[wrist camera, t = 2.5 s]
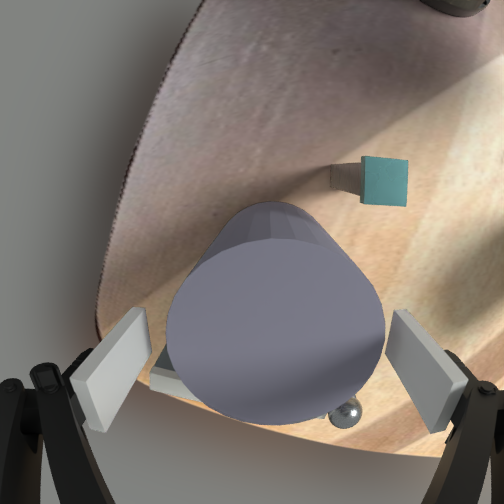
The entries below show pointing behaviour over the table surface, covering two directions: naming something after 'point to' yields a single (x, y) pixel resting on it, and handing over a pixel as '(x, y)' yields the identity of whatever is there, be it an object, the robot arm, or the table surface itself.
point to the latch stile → (373, 180)
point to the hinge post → (346, 414)
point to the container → (275, 320)
